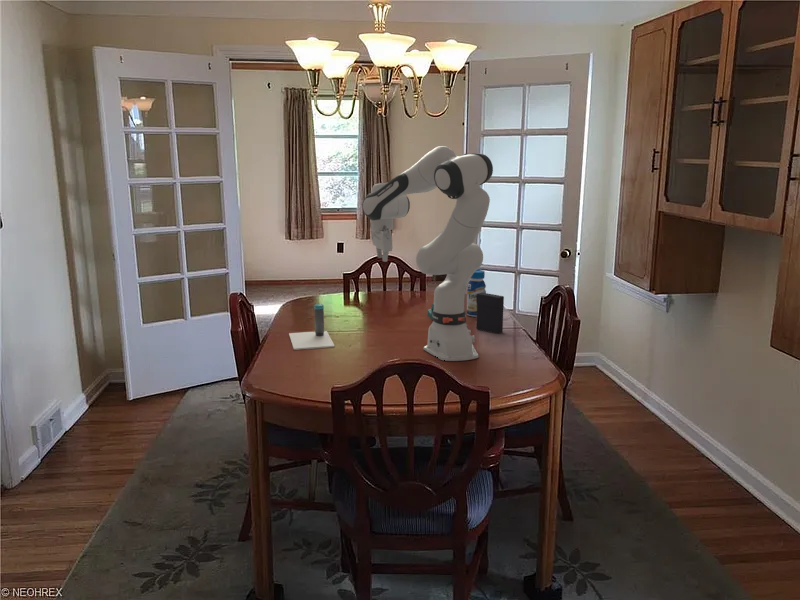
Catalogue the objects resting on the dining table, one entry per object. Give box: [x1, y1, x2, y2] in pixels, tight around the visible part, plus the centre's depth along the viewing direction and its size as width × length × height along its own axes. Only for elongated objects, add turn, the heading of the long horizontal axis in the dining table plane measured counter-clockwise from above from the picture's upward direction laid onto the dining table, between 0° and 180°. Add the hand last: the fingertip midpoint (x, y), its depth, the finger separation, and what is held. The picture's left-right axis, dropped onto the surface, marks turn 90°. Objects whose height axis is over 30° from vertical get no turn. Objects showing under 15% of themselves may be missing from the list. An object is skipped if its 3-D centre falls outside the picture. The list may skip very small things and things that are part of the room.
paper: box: [288, 330, 336, 351], centre depth 245 cm, size 21×15×1 cm
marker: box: [313, 303, 325, 336], centre depth 249 cm, size 4×4×12 cm
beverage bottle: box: [466, 269, 487, 318], centre depth 283 cm, size 8×8×20 cm
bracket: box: [427, 303, 434, 319], centre depth 279 cm, size 18×7×8 cm, turn 8°
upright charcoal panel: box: [475, 292, 505, 335], centre depth 258 cm, size 11×4×15 cm, turn 47°
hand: (382, 259), depth 253 cm, fingers open, 8 cm apart
